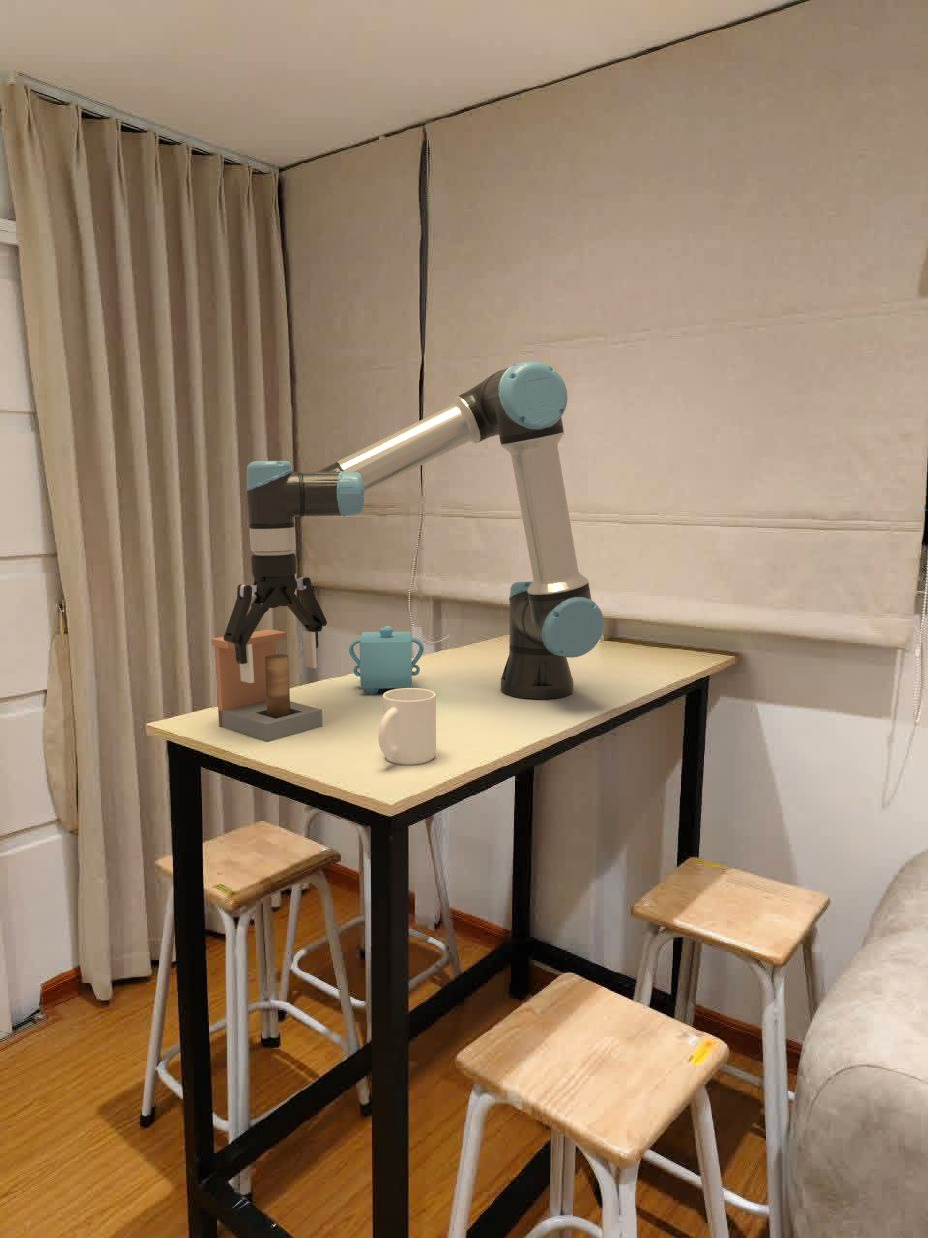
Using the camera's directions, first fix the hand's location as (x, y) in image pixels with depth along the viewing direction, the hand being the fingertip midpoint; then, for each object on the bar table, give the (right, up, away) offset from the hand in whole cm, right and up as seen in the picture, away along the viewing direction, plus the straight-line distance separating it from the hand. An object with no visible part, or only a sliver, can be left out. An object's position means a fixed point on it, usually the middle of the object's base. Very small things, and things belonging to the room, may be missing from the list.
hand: (280, 674), depth 149 cm
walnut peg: (0, -10, +2) cm, 10 cm away
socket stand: (-2, -9, +3) cm, 10 cm away
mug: (+23, -13, -15) cm, 30 cm away
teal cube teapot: (+16, -5, +33) cm, 37 cm away
